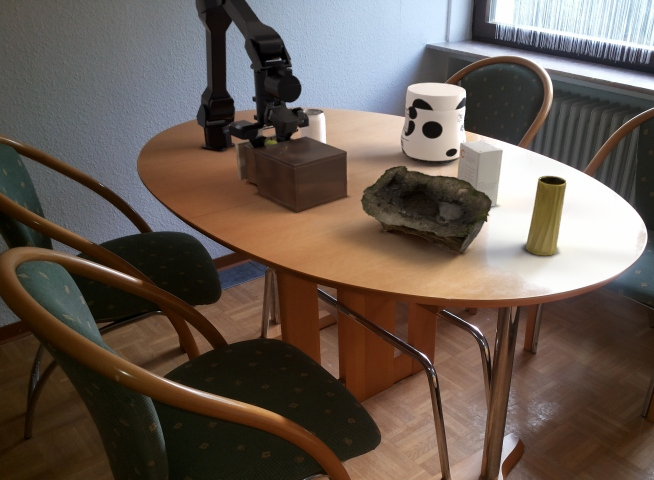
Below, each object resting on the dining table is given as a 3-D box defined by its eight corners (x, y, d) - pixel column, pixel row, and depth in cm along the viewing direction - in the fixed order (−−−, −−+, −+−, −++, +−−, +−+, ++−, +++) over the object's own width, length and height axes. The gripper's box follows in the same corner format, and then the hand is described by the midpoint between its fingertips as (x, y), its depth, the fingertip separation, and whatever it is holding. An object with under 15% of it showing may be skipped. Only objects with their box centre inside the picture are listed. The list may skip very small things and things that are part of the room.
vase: (521, 242, 130) (532, 174, 122) (551, 242, 130) (563, 174, 123) (529, 256, 125) (541, 186, 117) (560, 255, 125) (573, 186, 118)
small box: (496, 205, 146) (503, 149, 139) (473, 209, 144) (479, 152, 137) (477, 193, 152) (483, 139, 145) (454, 197, 150) (459, 142, 143)
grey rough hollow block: (482, 282, 125) (520, 216, 126) (458, 257, 114) (500, 185, 115) (377, 233, 140) (412, 175, 141) (348, 207, 129) (386, 144, 130)
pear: (258, 167, 151) (255, 137, 148) (269, 161, 155) (267, 132, 152) (276, 170, 150) (274, 140, 146) (287, 164, 154) (286, 135, 150)
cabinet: (257, 193, 148) (253, 148, 142) (307, 179, 157) (306, 136, 151) (296, 212, 139) (294, 165, 134) (347, 196, 148) (347, 151, 143)
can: (328, 154, 174) (327, 109, 168) (323, 161, 168) (322, 115, 162) (304, 152, 174) (302, 107, 168) (299, 160, 169) (297, 114, 163)
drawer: (229, 174, 155) (225, 138, 151) (275, 163, 163) (272, 128, 159) (272, 195, 145) (269, 157, 140) (318, 181, 153) (317, 145, 148)
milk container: (476, 158, 175) (483, 90, 165) (436, 172, 164) (441, 100, 154) (428, 143, 185) (432, 78, 175) (386, 156, 174) (388, 87, 164)
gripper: (253, 106, 133) (259, 178, 141) (323, 94, 145) (324, 161, 153) (224, 96, 140) (231, 165, 148) (293, 84, 151) (296, 149, 159)
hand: (272, 160), depth 152 cm, fingers closed on pear, 5 cm apart
